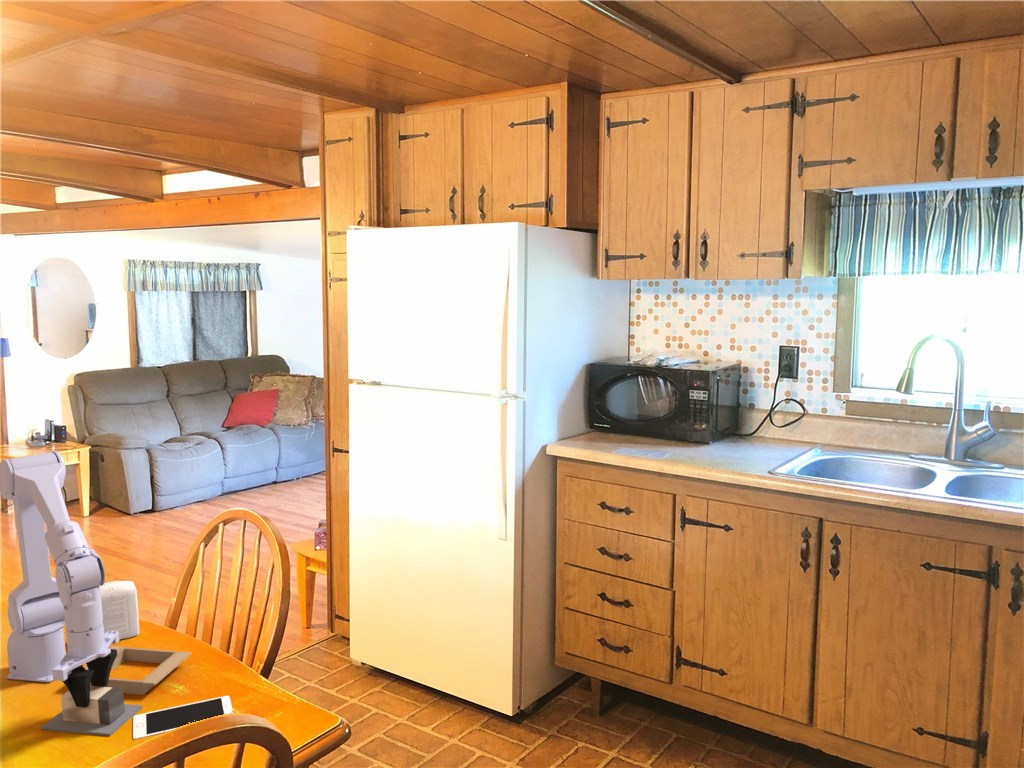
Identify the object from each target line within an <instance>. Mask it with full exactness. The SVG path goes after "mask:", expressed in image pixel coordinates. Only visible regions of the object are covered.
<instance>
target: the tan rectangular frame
mask: <svg viewBox="0 0 1024 768" xmlns="http://www.w3.org/2000/svg"><path fill="white" fill-rule="evenodd" d="M109 647H110V646H109ZM110 649H116V650H117V657H116V658H115V660H114V663H113V665H112V668H111V671H110V673H111V672H112V671H113V670H114V668H115V669H116V668H117V667H118V665H119V666H120V665H122V664H123V662H125V661H130V662H143V663H151V664H152V663H153V664H154V663H155V664H159V665H158V666H157V667H156V668H154V669H153V670H152V671H150V673H148V674H147V675H146V676H145V677H144V678H142V679H141V680H139V679H130V678H128V679H127V678H117V677H116V678H115V677H109V680H108V686H107V687H112V688H123V694H125V695H127V694H128V695H137V696H144V695H145V694H147V692H149V691H150V690H151V689H152V688H154V687H155V686H156V685H157V684H158V683H160V681H162V680H163V679H164V678H166V676H167V675H169V674H170V673H171V672H172V671H173V670H175V669H176V668H177V667H179V665H180V664H182V663H183V662H184V661H185V660H186V659H187V658H188V657H190V656H191V655H192V651H191V652H190V651H177V650H166V649H153V648H140V647H128V646H117V645H111V647H110ZM84 667H85V670H88V667H87V664H84V665H83V668H84ZM90 686H92V685H91V683H90Z"/></svg>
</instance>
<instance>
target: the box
mask: <svg viewBox="0 0 1024 768" xmlns="http://www.w3.org/2000/svg"><path fill="white" fill-rule="evenodd" d="M60 699H61V711H62V712H63V720H65V721H76V722H86V723H97V724H107V725H111V724H112V723H113V722H114V721H115V720H116V719H118V718H119V717H120V716H121V715H122V714H123V713H125V708H124V704H125V697H124V693H123V688H112V687H101V686H90V703H89V706H88V707H86V708H85V707H76V705H75V702H74V700H73V698H72V695H71V693H70V691H69V690H67V691H66V692H64V693H63V694H62V695H61V696H60Z"/></svg>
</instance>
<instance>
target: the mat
mask: <svg viewBox="0 0 1024 768" xmlns="http://www.w3.org/2000/svg"><path fill="white" fill-rule="evenodd" d="M124 708H125V713H123V714H122V715H121V716H120V717H119V718H118V719H116V720H115V721H114V722H113V723H112V724H111V725H107V724H97V723H86V722H76V721H65V720H63V712H62V710H61V711H60V712H58V713H57V714H56V715H55V716H53V717H52V718H51V719H50V720H48V721H47V722H46V723H44V724H43V725H42V726H40V730H44V731H55V732H65V733H66V732H67V733H75V734H87V735H96V736H97V735H98V736H106V737H107V736H108V737H111V736H112V735H113V734H114V733H115V732H117V731H118V730H119V729H120V728H121V727H123V725H124V724H125V723H127V722H128V721H129V720H130V719H132V718H133V717H134V716H135V715H137V713H138V712H139V711H140V710H141V709H142V708H143V705H140V704H133V703H132V704H131V703H124Z"/></svg>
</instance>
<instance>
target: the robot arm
mask: <svg viewBox="0 0 1024 768" xmlns="http://www.w3.org/2000/svg"><path fill="white" fill-rule="evenodd" d="M66 474H67V469H66V463H65V459H64V457H63V456H62V454H61V453H60V452H59V451H57V450H53V451H50V452H44V453H38V454H37V453H36V454H31V455H26V456H19V457H12V458H1V461H0V495H1V498H2V499H3V500H11V502H12V504H13V506H14V507H13V508H14V515H15V523H16V524H15V525H16V532H17V539H18V547H19V555H20V556H19V557H20V564H21V572H22V573H21V574H22V579H23V580H22V581H21V582H20V584H19V585H17V586H16V587H15V588H14V589H13V590H12V591H11V592H10V593H9V594H8V597H7V603H8V605H7V618H8V623H9V626H10V629H11V633H10V634H9V636H8V638H7V643H6V652H7V661H8V671H9V674H7V675H6V679H7V680H17V681H28V682H29V681H30V682H41V683H51V682H52V681H59V682H62V683H63V684H64V685H65V687H66V688H67V691H70V693H71V695H72V698H73V700H74V702H75V705H76V707H85V708H86V707H88V706H89V703H90V683H91V685H92V686H101V687H107V686H108V680H109V678H110V674H111V672H112V671H111V668H112V665H113V663H114V660H115V658H116V657H117V650H116V649H110V646H112V644H115V645H116V644H117V643H119V642H120V640H119V632H118V631H108V632H106V633H104V626H103V614H102V603H101V591H100V587H99V586H103V585H104V583H106V571H105V567H104V563H103V561H102V558H101V556H100V555H99V554H98V553H97V552H96V551H95V549H94V548H90V546H89V543H88V541H87V539H86V536H85V534H84V532H83V530H82V527H81V526H80V523H78V522H77V521H73V520H71V519H70V515H69V512H68V510H67V509H68V508H67V507H66V502H65V500H64V495H63V493H62V489H63V487H64V485H65V478H66ZM50 555H51V558H52V560H53V563H54V565H55V570H54V571H55V573H54V574H55V576H54V577H53V576H52V569H51V560H50ZM64 627H65V630H64ZM65 634H66V635H65ZM65 636H66V642H65ZM66 644H67V652H66ZM84 665H87V667H88V670H85V667H84ZM83 667H84V668H83ZM110 671H111V672H110Z"/></svg>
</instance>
